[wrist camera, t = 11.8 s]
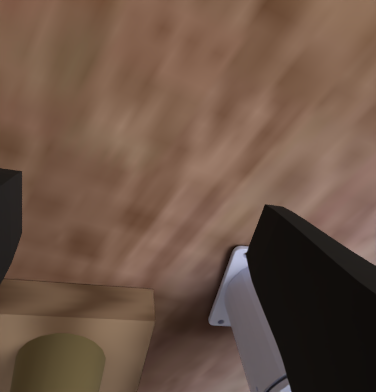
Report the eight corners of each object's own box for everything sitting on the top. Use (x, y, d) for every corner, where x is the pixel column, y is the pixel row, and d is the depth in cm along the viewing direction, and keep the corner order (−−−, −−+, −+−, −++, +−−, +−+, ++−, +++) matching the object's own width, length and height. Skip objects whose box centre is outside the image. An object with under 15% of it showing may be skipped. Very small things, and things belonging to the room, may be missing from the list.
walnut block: (153, 289, 26) (155, 321, 23) (131, 378, 31) (131, 412, 28) (-6, 278, 23) (-24, 312, 21) (-1, 377, 28) (-15, 414, 26)
